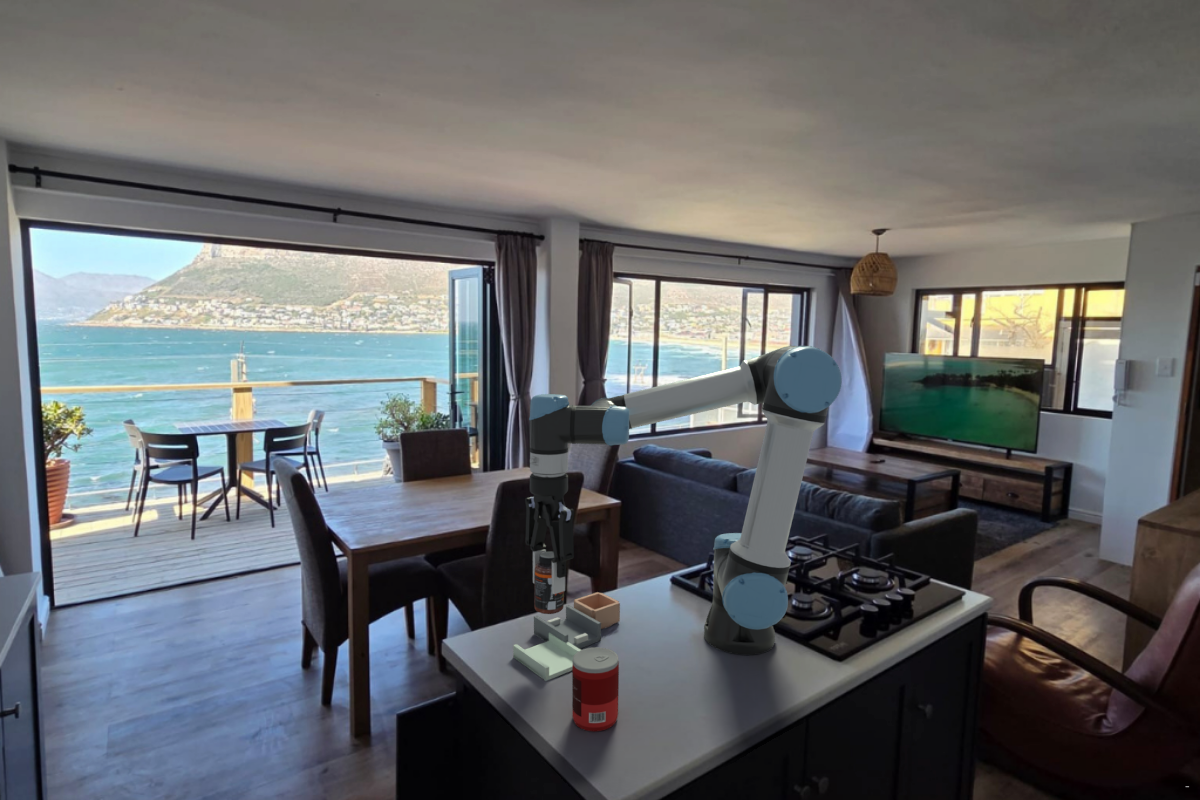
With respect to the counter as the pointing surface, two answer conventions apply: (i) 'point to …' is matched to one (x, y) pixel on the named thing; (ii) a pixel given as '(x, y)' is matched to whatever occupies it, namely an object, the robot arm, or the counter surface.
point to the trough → (547, 657)
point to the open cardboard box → (599, 608)
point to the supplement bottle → (546, 587)
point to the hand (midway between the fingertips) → (548, 586)
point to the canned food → (595, 688)
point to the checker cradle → (570, 628)
